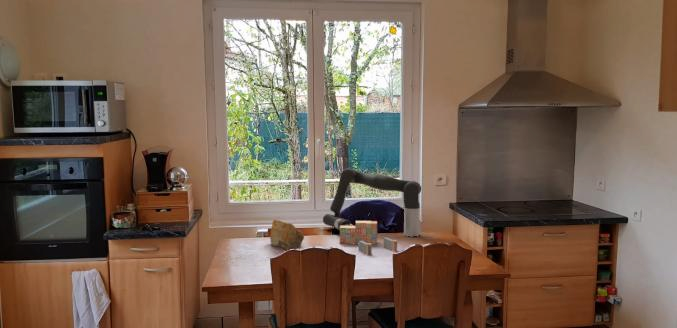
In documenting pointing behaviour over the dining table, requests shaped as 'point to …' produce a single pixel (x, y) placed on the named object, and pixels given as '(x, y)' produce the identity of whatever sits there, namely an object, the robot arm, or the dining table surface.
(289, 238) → the rough brown rock
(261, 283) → the dining table surface
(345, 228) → the stack of blocks
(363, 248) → the spaced upright blocks
